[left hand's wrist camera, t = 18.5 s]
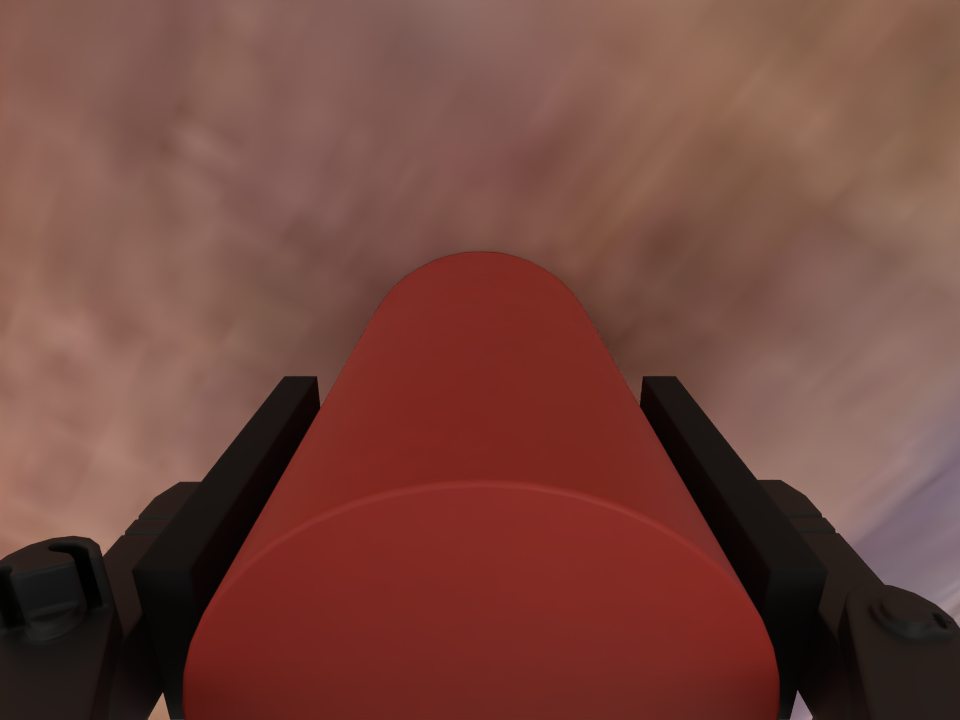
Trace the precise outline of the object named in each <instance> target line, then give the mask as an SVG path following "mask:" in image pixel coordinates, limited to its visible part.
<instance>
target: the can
mask: <svg viewBox="0 0 960 720" xmlns="http://www.w3.org/2000/svg"><path fill="white" fill-rule="evenodd" d="M182 706H183V713H184V720H778V717H779V711H780V685H779V673H778V668H777V663H776V658H775V653H774V648H773V645H772V643H771V640H770V638H769V635H768V633H767V630H766V628H765V625H764V623H763V620H762V618H761V616H760V615H759V613H758V611H757V609H756V608H755V606H754V604H753V602H752V601H751V599H750V597H749V595H748V594H747V592H746V590H745V588H744V587H743V585H742V583H741V581H740V580H739V578H738V576H737V575H736V573H735V571H734V569H733V568H732V566H731V564H730V562H729V561H728V559H727V557H726V555H725V554H724V552H723V550H722V548H721V547H720V545H719V543H718V541H717V540H716V538H715V536H714V535H713V533H712V531H711V529H710V528H709V526H708V524H707V522H706V521H705V519H704V517H703V515H702V514H701V512H700V510H699V508H698V507H697V505H696V503H695V501H694V500H693V498H692V496H691V495H690V493H689V491H688V489H687V488H686V486H685V484H684V482H683V481H682V479H681V477H680V475H679V474H678V472H677V470H676V468H675V467H674V465H673V463H672V461H671V460H670V458H669V456H668V455H667V453H666V451H665V449H664V448H663V446H662V444H661V442H660V441H659V439H658V437H657V435H656V434H655V432H654V430H653V428H652V427H651V425H650V423H649V421H648V420H647V418H646V416H645V415H644V413H643V411H642V409H641V408H640V406H639V404H638V402H637V401H636V399H635V397H634V395H633V394H632V392H631V390H630V388H629V387H628V385H627V383H626V381H625V380H624V378H623V376H622V375H621V373H620V371H619V369H618V368H617V366H616V364H615V362H614V361H613V359H612V357H611V355H610V354H609V352H608V350H607V348H606V347H605V345H604V343H603V342H602V340H601V338H600V336H599V335H598V333H597V331H596V329H595V328H594V326H593V324H592V322H591V321H590V319H589V317H588V315H587V314H586V312H585V310H584V309H583V307H582V306H581V304H580V302H579V301H578V299H577V298H576V297H575V296H574V295H573V293H572V292H571V291H570V290H569V289H568V288H567V287H566V286H565V285H564V284H563V283H562V282H561V281H560V280H559V279H558V278H556V277H555V276H553V275H552V274H550V273H549V272H548V271H546V270H545V269H543V268H541V267H539V266H537V265H535V264H533V263H531V262H529V261H526V260H523V259H520V258H518V257H515V256H510V255H506V254H501V253H492V252H468V253H461V254H455V255H450V256H447V257H444V258H441V259H438V260H435V261H432V262H430V263H428V264H426V265H424V266H422V267H420V268H418V269H417V270H415V271H414V272H412V273H411V274H409V275H407V276H406V277H405V278H404V279H403V280H401V281H400V282H399V283H398V284H397V285H396V286H395V287H394V288H393V289H392V290H391V291H390V292H389V293H388V295H387V296H386V297H385V298H384V299H383V301H382V302H381V304H380V306H379V307H378V309H377V310H376V312H375V314H374V315H373V317H372V319H371V321H370V322H369V324H368V326H367V328H366V329H365V331H364V333H363V335H362V336H361V338H360V340H359V342H358V343H357V345H356V347H355V349H354V350H353V352H352V354H351V356H350V357H349V359H348V361H347V363H346V364H345V366H344V368H343V370H342V371H341V373H340V375H339V377H338V378H337V380H336V382H335V384H334V385H333V387H332V389H331V391H330V392H329V394H328V396H327V398H326V399H325V401H324V403H323V405H322V407H321V408H320V410H319V412H318V414H317V415H316V417H315V419H314V421H313V422H312V424H311V426H310V428H309V429H308V431H307V433H306V435H305V436H304V438H303V440H302V442H301V443H300V445H299V447H298V449H297V450H296V452H295V454H294V456H293V457H292V459H291V461H290V463H289V464H288V466H287V468H286V470H285V471H284V473H283V475H282V477H281V478H280V480H279V482H278V484H277V485H276V487H275V489H274V491H273V492H272V494H271V496H270V498H269V499H268V501H267V503H266V505H265V506H264V508H263V510H262V512H261V513H260V515H259V517H258V519H257V520H256V522H255V524H254V526H253V527H252V529H251V531H250V533H249V535H248V536H247V538H246V540H245V542H244V543H243V545H242V547H241V549H240V550H239V552H238V554H237V556H236V557H235V559H234V561H233V563H232V564H231V566H230V568H229V570H228V571H227V573H226V575H225V577H224V578H223V580H222V582H221V584H220V585H219V587H218V589H217V591H216V592H215V594H214V596H213V598H212V599H211V601H210V603H209V605H208V606H207V608H206V610H205V612H204V613H203V615H202V618H201V620H200V622H199V625H198V627H197V629H196V632H195V634H194V636H193V638H192V641H191V643H190V647H189V651H188V656H187V660H186V665H185V669H184V677H183V702H182Z"/></svg>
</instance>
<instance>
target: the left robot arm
mask: <svg viewBox="0 0 960 720" xmlns="http://www.w3.org/2000/svg"><path fill="white" fill-rule="evenodd" d="M640 408H641V409H642V411H643V413H644V415H645V416H646V418H647V420H648V421H649V423H650V425H651V427H652V428H653V430H654V432H655V434H656V435H657V437H658V439H659V441H660V442H661V444H662V446H663V448H664V449H665V451H666V453H667V455H668V456H669V458H670V460H671V461H672V463H673V465H674V467H675V468H676V470H677V472H678V474H679V475H680V477H681V479H682V481H683V482H684V484H685V486H686V488H687V489H688V491H689V493H690V495H691V496H692V498H693V500H694V501H695V503H696V505H697V507H698V508H699V510H700V512H701V514H702V515H703V517H704V519H705V521H706V522H707V524H708V526H709V528H710V529H711V531H712V533H713V535H714V536H715V538H716V540H717V541H718V543H719V545H720V547H721V548H722V550H723V552H724V554H725V555H726V557H727V559H728V561H729V562H730V564H731V566H732V568H733V569H734V571H735V573H736V575H737V576H738V578H739V580H740V581H741V583H742V585H743V587H744V588H745V590H746V592H747V594H748V595H749V597H750V599H751V601H752V602H753V604H754V606H755V608H756V609H757V611H758V613H759V615H760V616H761V618H762V620H763V623H764V625H765V628H766V630H767V633H768V635H769V638H770V640H771V643H772V645H773V648H774V653H775V658H776V663H777V668H778V673H779V685H780V711H779V717H778V720H790V717H791V713H792V709H793V705H794V701H795V697H796V694H797V690H798V691H799V693H800V695H801V697H802V698H803V700H804V702H805V704H806V705H807V707H808V709H809V711H810V712H811V714H812V716H813V718H812V720H960V628H959V626H958V625H957V623H956V622H955V621H954V619H953V618H952V617H950V616H949V615H948V614H947V613H946V612H944V611H943V610H942V609H941V608H939V607H938V606H937V605H936V604H934V603H932V602H930V601H928V600H926V599H925V598H923V597H921V596H919V595H917V594H915V593H913V592H910V591H907V590H904V589H901V588H898V587H895V586H890V585H884V584H883V582H882V581H881V580H880V579H879V578H878V577H877V576H876V575H875V573H874V572H873V571H872V570H871V569H870V568H869V567H868V566H867V564H866V563H865V562H864V561H863V560H862V559H861V558H860V557H859V555H858V554H857V553H856V552H855V551H854V550H853V549H852V548H851V546H850V545H849V544H848V543H847V542H846V541H845V540H844V538H843V537H842V536H841V535H840V534H839V533H836V532H835V528H834V527H833V526H832V525H831V524H830V523H829V522H828V520H827V519H826V518H822V514H821V513H820V511H819V510H818V509H817V508H816V507H815V506H814V505H813V504H812V502H811V501H810V500H809V499H808V498H807V497H806V496H805V495H804V494H802V493H800V492H799V491H797V490H796V489H794V488H793V487H791V486H789V485H788V484H786V483H785V482H783V481H781V480H757V479H756V478H755V476H754V475H753V474H752V473H751V471H750V470H749V469H748V468H747V466H746V465H745V464H744V462H743V461H742V460H741V459H740V457H739V456H738V455H737V454H736V452H735V451H734V450H733V449H732V447H731V446H730V445H729V443H728V442H727V441H726V440H725V438H724V437H723V436H722V435H721V433H720V432H719V431H718V430H717V428H716V427H715V426H714V424H713V423H712V422H711V421H710V419H709V418H708V417H707V416H706V414H705V413H704V412H703V411H702V409H701V408H700V407H699V405H698V404H697V403H696V402H695V400H694V399H693V398H692V397H691V395H690V394H689V393H688V392H687V390H686V389H685V388H684V386H683V385H682V384H681V383H680V381H679V380H678V379H677V378H676V376H643V381H642V391H641V400H640ZM319 410H320V400H319V391H318V381H317V376H284V378H283V379H282V380H281V381H280V383H279V384H278V385H277V386H276V388H275V389H274V390H273V392H272V393H271V394H270V395H269V397H268V398H267V399H266V400H265V402H264V403H263V404H262V405H261V407H260V408H259V409H258V411H257V412H256V413H255V414H254V416H253V417H252V418H251V419H250V421H249V422H248V423H247V424H246V426H245V427H244V428H243V430H242V431H241V432H240V433H239V435H238V436H237V437H236V438H235V440H234V441H233V442H232V444H231V445H230V446H229V447H228V449H227V450H226V451H225V452H224V454H223V455H222V456H221V457H220V459H219V460H218V461H217V463H216V464H215V465H214V466H213V468H212V469H211V470H210V471H209V473H208V474H207V475H206V476H205V478H204V479H203V480H202V482H179V483H177V484H176V485H174V486H172V487H171V488H169V489H168V490H166V491H165V492H163V493H161V494H160V495H158V496H157V497H155V498H154V499H153V500H152V502H151V503H150V504H149V505H148V506H147V507H146V508H145V509H144V511H143V512H142V513H141V514H140V515H139V519H138V520H135V521H134V522H133V523H132V524H131V525H130V526H129V528H128V529H127V530H126V531H125V535H122V536H121V537H120V538H119V539H118V540H117V541H116V542H115V544H114V545H113V546H112V547H111V548H110V549H109V550H108V551H107V553H106V554H105V555H104V556H103V557H102V553H101V550H100V546H99V545H98V544H97V543H96V542H94V541H93V540H92V539H90V538H85V537H78V536H68V537H59V538H52V539H48V540H45V541H41V542H38V543H35V544H31V545H29V546H26V547H24V548H22V549H20V550H18V551H16V552H14V553H12V554H10V555H7V556H6V557H5V558H3V559H2V560H0V720H148V717H149V716H150V714H151V712H152V710H153V709H154V707H155V705H156V703H157V701H158V700H159V698H160V696H161V694H162V693H164V697H165V701H166V705H167V709H168V713H169V717H170V720H184V713H183V706H182V702H183V677H184V669H185V665H186V660H187V656H188V651H189V647H190V643H191V641H192V638H193V636H194V634H195V632H196V629H197V627H198V625H199V622H200V620H201V618H202V615H203V613H204V612H205V610H206V608H207V606H208V605H209V603H210V601H211V599H212V598H213V596H214V594H215V592H216V591H217V589H218V587H219V585H220V584H221V582H222V580H223V578H224V577H225V575H226V573H227V571H228V570H229V568H230V566H231V564H232V563H233V561H234V559H235V557H236V556H237V554H238V552H239V550H240V549H241V547H242V545H243V543H244V542H245V540H246V538H247V536H248V535H249V533H250V531H251V529H252V527H253V526H254V524H255V522H256V520H257V519H258V517H259V515H260V513H261V512H262V510H263V508H264V506H265V505H266V503H267V501H268V499H269V498H270V496H271V494H272V492H273V491H274V489H275V487H276V485H277V484H278V482H279V480H280V478H281V477H282V475H283V473H284V471H285V470H286V468H287V466H288V464H289V463H290V461H291V459H292V457H293V456H294V454H295V452H296V450H297V449H298V447H299V445H300V443H301V442H302V440H303V438H304V436H305V435H306V433H307V431H308V429H309V428H310V426H311V424H312V422H313V421H314V419H315V417H316V415H317V414H318V412H319Z"/></svg>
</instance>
